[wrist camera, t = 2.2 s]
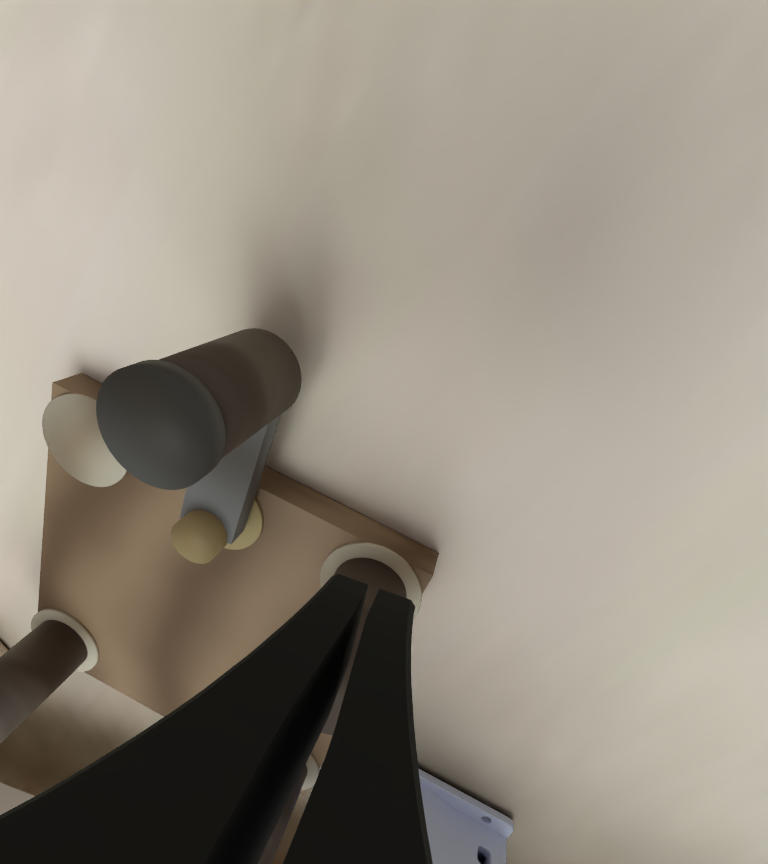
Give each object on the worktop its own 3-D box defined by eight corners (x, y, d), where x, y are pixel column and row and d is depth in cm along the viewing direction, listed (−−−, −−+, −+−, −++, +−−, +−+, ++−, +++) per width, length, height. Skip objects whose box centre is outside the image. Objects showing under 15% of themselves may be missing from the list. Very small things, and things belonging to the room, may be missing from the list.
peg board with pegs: (444, 552, 21) (410, 692, 14) (315, 771, 29) (258, 921, 22) (77, 367, 22) (-100, 421, 16) (54, 626, 30) (-68, 730, 24)
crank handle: (248, 552, 21) (161, 655, 16) (180, 517, 21) (73, 606, 16) (316, 351, 16) (225, 403, 11) (228, 309, 17) (103, 342, 12)
